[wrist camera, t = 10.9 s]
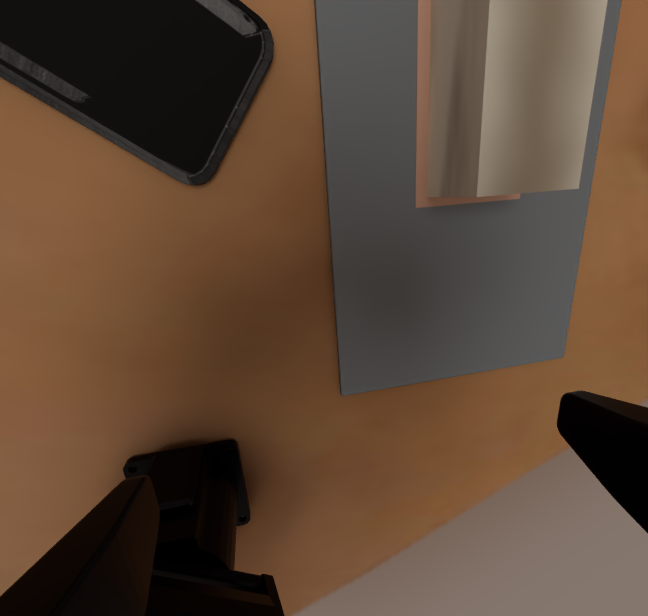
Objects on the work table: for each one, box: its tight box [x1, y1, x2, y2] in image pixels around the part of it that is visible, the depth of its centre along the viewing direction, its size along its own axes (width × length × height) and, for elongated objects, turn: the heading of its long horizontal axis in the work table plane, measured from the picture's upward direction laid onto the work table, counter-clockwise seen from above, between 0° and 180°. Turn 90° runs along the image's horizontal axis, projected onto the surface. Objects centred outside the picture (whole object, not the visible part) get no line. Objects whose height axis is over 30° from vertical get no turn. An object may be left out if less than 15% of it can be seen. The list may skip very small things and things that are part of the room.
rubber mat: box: [314, 0, 622, 396], centre depth 19 cm, size 24×16×1 cm, turn 5°
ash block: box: [427, 0, 608, 197], centre depth 15 cm, size 5×11×4 cm, turn 4°
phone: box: [0, 0, 274, 185], centre depth 14 cm, size 8×1×15 cm
